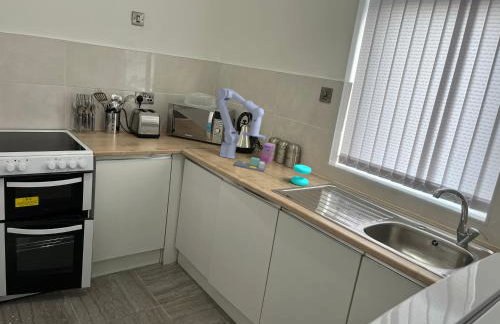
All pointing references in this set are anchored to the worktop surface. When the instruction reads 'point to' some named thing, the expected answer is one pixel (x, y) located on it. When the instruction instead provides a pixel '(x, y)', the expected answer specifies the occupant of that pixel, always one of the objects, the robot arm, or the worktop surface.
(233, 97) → the robot arm
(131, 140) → the worktop surface
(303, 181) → the donuts
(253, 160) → the sleeve
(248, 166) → the board
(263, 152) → the box
